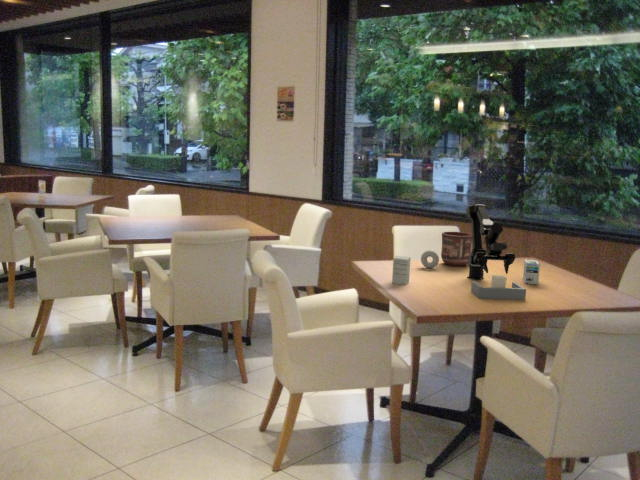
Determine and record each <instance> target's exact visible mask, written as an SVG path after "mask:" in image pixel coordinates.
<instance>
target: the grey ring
mask: <svg viewBox="0 0 640 480" xmlns="http://www.w3.org/2000/svg"><path fill="white" fill-rule="evenodd" d="M429 257H431V258H432V261H431V262H430V261H429V260H428V258H429ZM420 262H421V264H422V265H423V267H425V268H427V269H433V268H435V267H437V266H438V265H439V262H440V258H439V254H438V253H437V252H436V251H433V250H425V251H424V252H423V253H422V254H421V255H420Z"/></svg>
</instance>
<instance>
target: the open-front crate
mask: <svg viewBox="0 0 640 480" xmlns="http://www.w3.org/2000/svg"><path fill="white" fill-rule="evenodd" d="M470 285H471V288H470V291H471V293H472V294H474V295H475V296H476V297H477V298H478V299H481V300H515V301H516V300H517V301H519V300H521V301H525V300H526V296H527V288H526V287H524V286H522V285H520V284H519V283H517V282H516V281H512V283H511V287H505V288H493V287H491V286H490V287H489V286H482V285H481V284H480V283H479V282H477V280H471V284H470Z"/></svg>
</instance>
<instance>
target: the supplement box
mask: <svg viewBox="0 0 640 480" xmlns="http://www.w3.org/2000/svg"><path fill="white" fill-rule="evenodd" d="M392 261H393V262H392V274H391V275H392V279H391V283H392V284H395V285H396V284H398V285H407V284H409V282H410V276H411V275H410V274H411V273H410V272H411V257H410V256H402V255H396V256H394V257H393V260H392Z"/></svg>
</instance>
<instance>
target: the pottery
mask: <svg viewBox="0 0 640 480" xmlns="http://www.w3.org/2000/svg"><path fill="white" fill-rule="evenodd" d="M472 250H473V242H472V233H469V232H461V231H444V232H441V252H440V256H441V259H442V260H441V261H442V262H443V263H444V265H446V266H450V267H457V266H459V267H460V266H461V267H465V266H467V261H468V259H469V257H470V253H471V252H472Z"/></svg>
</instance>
